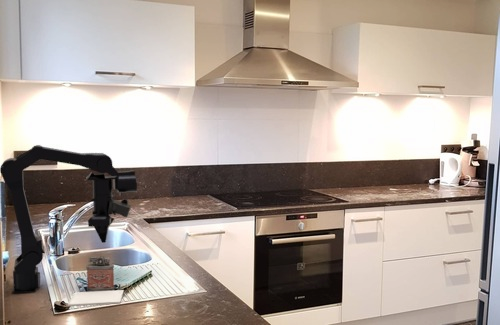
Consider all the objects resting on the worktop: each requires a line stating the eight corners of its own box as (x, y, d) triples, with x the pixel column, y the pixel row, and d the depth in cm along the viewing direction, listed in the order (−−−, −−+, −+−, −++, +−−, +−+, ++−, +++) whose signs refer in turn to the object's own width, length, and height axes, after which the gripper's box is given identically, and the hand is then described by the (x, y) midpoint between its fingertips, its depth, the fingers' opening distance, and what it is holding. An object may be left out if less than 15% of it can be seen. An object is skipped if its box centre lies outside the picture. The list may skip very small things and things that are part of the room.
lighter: (115, 287, 148) (114, 255, 147) (112, 291, 145) (112, 258, 143) (88, 287, 148) (87, 255, 147) (85, 291, 144) (84, 258, 143)
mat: (67, 306, 133) (67, 304, 133) (74, 294, 142) (74, 292, 142) (120, 303, 135) (120, 301, 135) (123, 291, 144) (123, 289, 144)
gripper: (126, 198, 144) (127, 249, 146) (131, 188, 162) (132, 234, 164) (87, 199, 142) (88, 251, 144) (97, 189, 161) (98, 235, 162)
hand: (103, 242), depth 154 cm, fingers closed
